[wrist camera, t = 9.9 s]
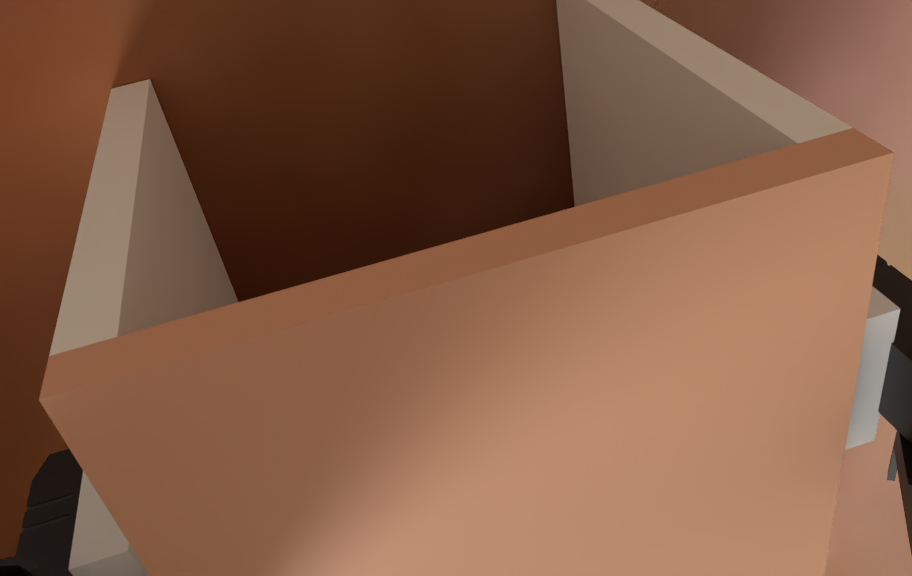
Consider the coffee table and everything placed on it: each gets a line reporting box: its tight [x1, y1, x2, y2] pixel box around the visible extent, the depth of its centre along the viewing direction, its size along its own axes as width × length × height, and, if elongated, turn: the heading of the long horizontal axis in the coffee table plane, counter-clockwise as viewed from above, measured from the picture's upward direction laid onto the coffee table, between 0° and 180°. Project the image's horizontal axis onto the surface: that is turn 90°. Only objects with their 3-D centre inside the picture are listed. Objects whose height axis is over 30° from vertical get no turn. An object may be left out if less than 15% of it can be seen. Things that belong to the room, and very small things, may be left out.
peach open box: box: [39, 0, 894, 576], centre depth 15 cm, size 9×9×9 cm
